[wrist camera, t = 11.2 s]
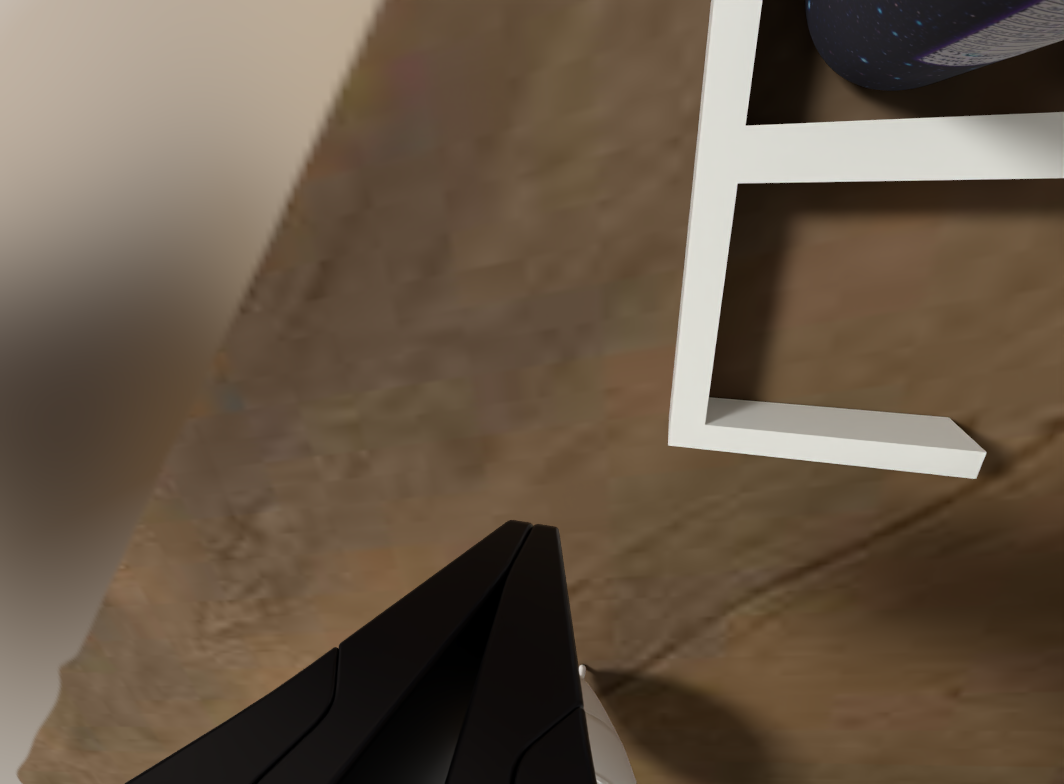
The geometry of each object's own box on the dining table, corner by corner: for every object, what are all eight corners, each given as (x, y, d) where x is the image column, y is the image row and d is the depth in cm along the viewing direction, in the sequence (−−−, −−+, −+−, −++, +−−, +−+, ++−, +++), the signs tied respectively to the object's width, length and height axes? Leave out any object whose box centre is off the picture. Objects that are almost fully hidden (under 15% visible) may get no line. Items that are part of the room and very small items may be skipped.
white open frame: (1282, -382, 10) (1448, -532, 8) (965, 444, 18) (1005, 482, 16) (737, -260, 13) (749, -349, 11) (669, 415, 21) (667, 445, 18)
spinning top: (664, 716, 28) (656, 1048, 17) (539, 708, 31) (466, 992, 20) (635, 614, 26) (605, 927, 15) (501, 615, 28) (396, 882, 18)
